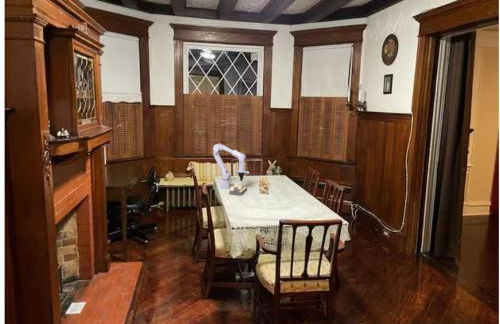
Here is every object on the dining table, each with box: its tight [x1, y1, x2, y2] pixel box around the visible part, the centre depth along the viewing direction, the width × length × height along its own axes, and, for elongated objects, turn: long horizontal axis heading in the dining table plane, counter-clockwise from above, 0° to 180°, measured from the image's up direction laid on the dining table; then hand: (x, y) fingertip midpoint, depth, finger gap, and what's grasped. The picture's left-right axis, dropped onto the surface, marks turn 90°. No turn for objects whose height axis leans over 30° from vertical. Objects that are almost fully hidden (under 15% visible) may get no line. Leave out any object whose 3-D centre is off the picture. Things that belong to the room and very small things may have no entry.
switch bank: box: [228, 186, 248, 197], centre depth 343 cm, size 11×21×3 cm, turn 166°
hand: (241, 180), depth 352 cm, fingers closed
